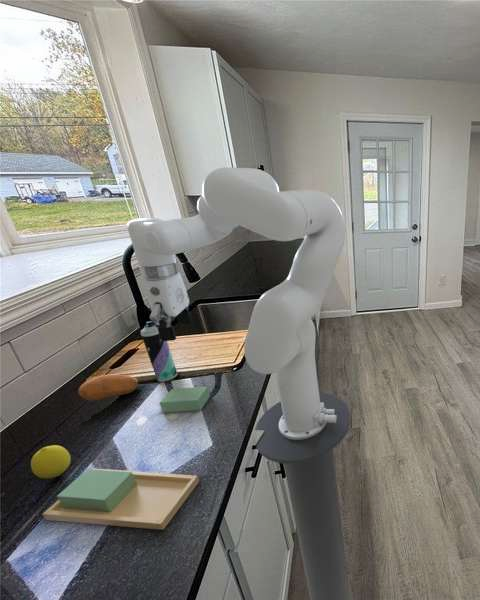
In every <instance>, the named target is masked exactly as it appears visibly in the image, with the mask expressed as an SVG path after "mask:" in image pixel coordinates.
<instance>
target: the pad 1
mask: <svg viewBox="0 0 480 600" xmlns="http://www.w3.org/2000/svg"><path fill="white" fill-rule="evenodd" d="M136 485H137V483H136V481H135V478H134V476H133V474H132V472H120V471H106V470H93V469H91V468H89V469H86V470H85V471H84V472H83V473H81V474H80V475H79V476H78V477H77V478H75V479H74V480H73V481H72V482H71V483H70V484H69V485H68V486H66V487H65V488H64V489H63V490H62V491H61V492H60V493H58V494H57V495H56V498H57V500H59V501H60V503H61V504H62V506H63V508H66V509H78V510H90V511H102V512H111V511H112V510H113V509H114V508H115V507H116V506H117V505H118V504H119V503H120V502H121V501H122V500H123V499H124V498H125V497H126V495H127V494H128V493H129V492H130V491H131V490H132V489H133V488H134V487H135V486H136Z"/></svg>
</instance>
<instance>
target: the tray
mask: <svg viewBox="0 0 480 600" xmlns="http://www.w3.org/2000/svg"><path fill="white" fill-rule="evenodd" d="M92 470H106V471H120V472H132V474H133V476H134V478H135V481H136V483H137V485H136V486H135V487H134V488H133V489H132V490H131V491H130V492H129V493H128V494H127V495H126V497H125V498H124V499H123V500H122V501H121V502H120V503H119V504H118V505H117V506H116V507H115V508H114V509H113V510H112V511H111V512H102V511H90V510H78V509H66V508H63V506H62V504H61V503H60V501H59V499H57V500H56V501H55V502H54V503H53V504H52V505H51V506H50V507H48V508H47V509H46V510H45V511H44V512H43V513H42V516H43V517H44V519H45V520H46V521H55V522H67V523H78V524H79V523H80V524H88V525H101V526H114V527H124V528H125V527H126V528H136V529H147V530H158V531H159V530H161V531H164V530H165V528H166V527H167V526H168V524H169V523H170V522H171V520H172V519H173V518H174V516H175V515H176V514H177V512H178V511H179V510H180V509H181V507H182V506H183V504H185V501H186V500H187V499H188V498H189V496H190V495H191V493H192V492H193V491H194V489H195V488H196V487H197V485H199V483H200V479H199V476H198V475H191V474H177V473H163V472H150V471H137V470H123V469H122V470H121V469H107V468H93V469H92Z"/></svg>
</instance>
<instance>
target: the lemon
mask: <svg viewBox="0 0 480 600" xmlns="http://www.w3.org/2000/svg"><path fill="white" fill-rule="evenodd" d="M71 459H72V457H71V454H70V452H69V451H68V449H66V448H65V447H64V446H61V445H58V444H57V445H56V444H52V445H47V446H44V447H42V448H40V449H39V450H38V451H37V452H35V454H34V455H33V456H32V458H31V460H30V468H31V471H32V473H33V474H34V475H35V476H36V477H38V478H40V479H53V478H56V477H60V476H61V475H62V474H63V473H65V472H66V471H67V470H68V468H69V467H70V465H71Z"/></svg>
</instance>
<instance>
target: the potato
mask: <svg viewBox="0 0 480 600" xmlns="http://www.w3.org/2000/svg"><path fill="white" fill-rule="evenodd" d="M138 387H139V382H138V379H137V377H134V376H130V375H127V374H111V373H108V374H103V375H99V376H96V377H95V376H94V377H91V378H89V379H87V380H86V381H84V382H83V383H82V384H81V385H80V386H79V388H78V391H77V392H78V395H79V397H80V398H82V399H84V400H85V401H87V402H92V403H97V402H101V401H104V400H108V399H111V398H115V397H119V396H124V395H128V394H130V393H132V392H134V391H135V390H136V389H137V388H138Z"/></svg>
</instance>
